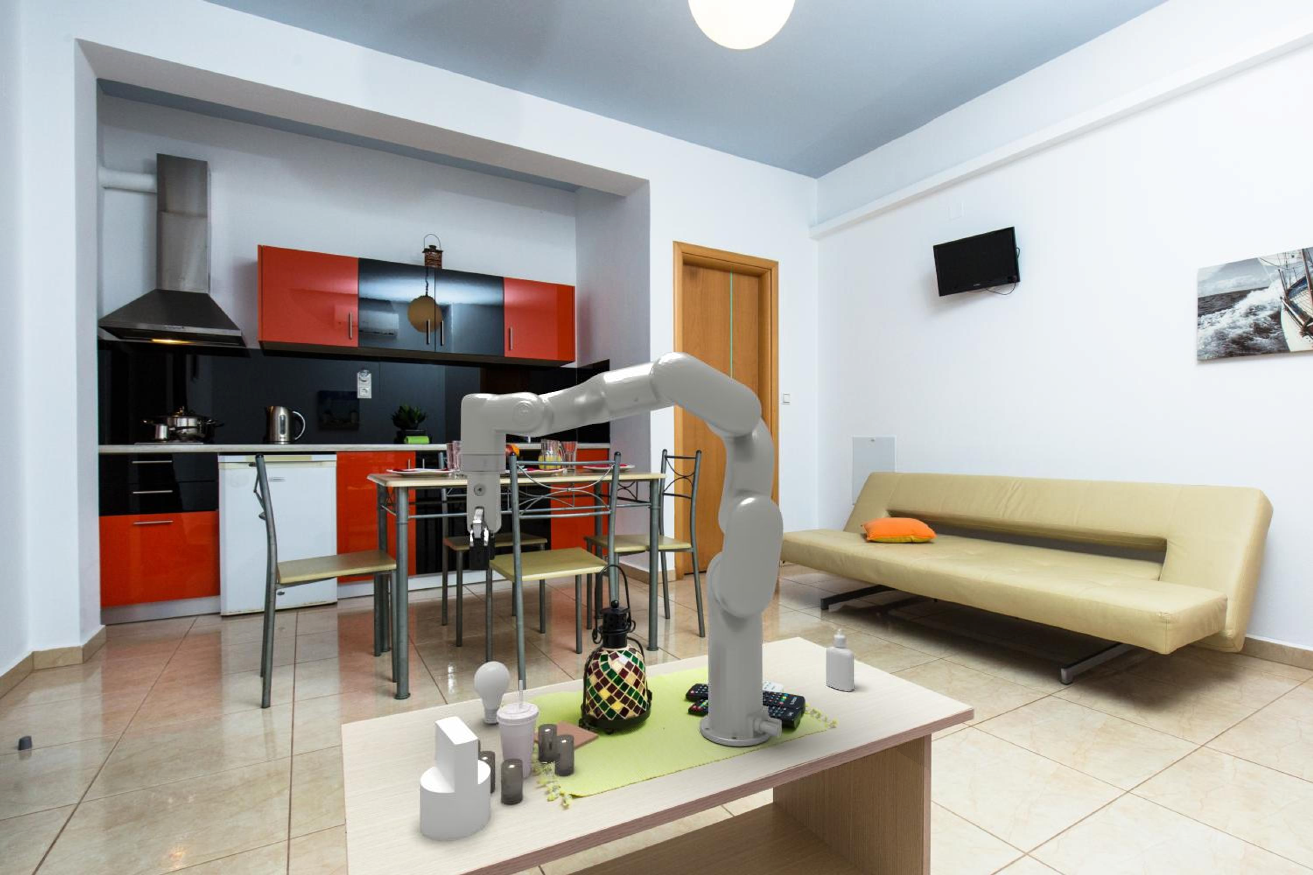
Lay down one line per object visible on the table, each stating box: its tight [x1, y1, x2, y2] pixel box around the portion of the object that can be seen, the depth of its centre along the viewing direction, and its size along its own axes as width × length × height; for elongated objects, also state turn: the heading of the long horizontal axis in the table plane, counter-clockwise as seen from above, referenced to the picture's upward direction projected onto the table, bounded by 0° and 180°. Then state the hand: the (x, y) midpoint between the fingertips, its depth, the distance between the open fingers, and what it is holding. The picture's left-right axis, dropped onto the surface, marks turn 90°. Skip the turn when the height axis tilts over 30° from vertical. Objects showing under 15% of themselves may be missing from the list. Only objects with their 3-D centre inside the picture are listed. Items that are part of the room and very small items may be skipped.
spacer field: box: [478, 723, 575, 806], centre depth 97 cm, size 13×15×5 cm
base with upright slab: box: [419, 716, 491, 841], centre depth 85 cm, size 9×9×12 cm
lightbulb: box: [473, 661, 511, 725], centre depth 115 cm, size 6×6×11 cm
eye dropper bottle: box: [825, 628, 855, 692], centre depth 132 cm, size 4×6×12 cm
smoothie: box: [496, 679, 540, 780], centre depth 97 cm, size 6×6×14 cm
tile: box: [534, 720, 599, 751], centre depth 109 cm, size 9×8×1 cm
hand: (482, 564), depth 110 cm, fingers open, 9 cm apart
